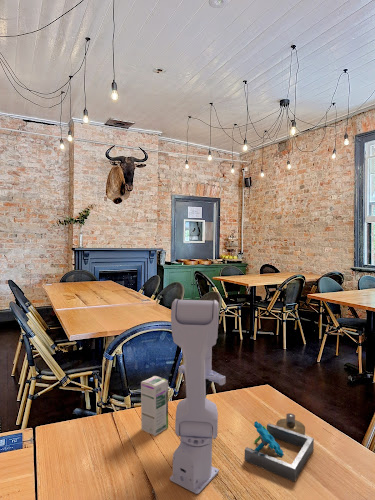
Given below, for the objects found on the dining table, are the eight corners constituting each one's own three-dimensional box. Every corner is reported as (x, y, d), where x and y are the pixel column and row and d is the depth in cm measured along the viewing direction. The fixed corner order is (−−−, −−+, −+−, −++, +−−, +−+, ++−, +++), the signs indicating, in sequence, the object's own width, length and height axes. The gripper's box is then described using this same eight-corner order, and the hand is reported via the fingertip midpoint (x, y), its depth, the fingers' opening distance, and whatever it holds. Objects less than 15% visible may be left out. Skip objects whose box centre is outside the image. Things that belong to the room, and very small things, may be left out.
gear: (289, 460, 84) (260, 428, 86) (272, 477, 84) (243, 445, 86) (280, 440, 95) (254, 412, 97) (265, 455, 95) (239, 427, 97)
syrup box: (155, 436, 97) (155, 386, 96) (140, 429, 100) (140, 380, 100) (168, 428, 101) (168, 379, 101) (153, 421, 105) (154, 374, 105)
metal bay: (294, 481, 79) (294, 469, 79) (244, 461, 87) (244, 449, 86) (313, 449, 92) (313, 438, 92) (268, 433, 99) (268, 423, 99)
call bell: (299, 443, 94) (300, 425, 94) (272, 434, 99) (272, 416, 99) (308, 430, 101) (308, 414, 100) (282, 422, 105) (282, 406, 105)
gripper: (231, 357, 96) (230, 405, 96) (188, 347, 104) (188, 391, 105) (218, 364, 90) (217, 415, 90) (174, 353, 99) (174, 400, 99)
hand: (201, 403), depth 97 cm, fingers closed
